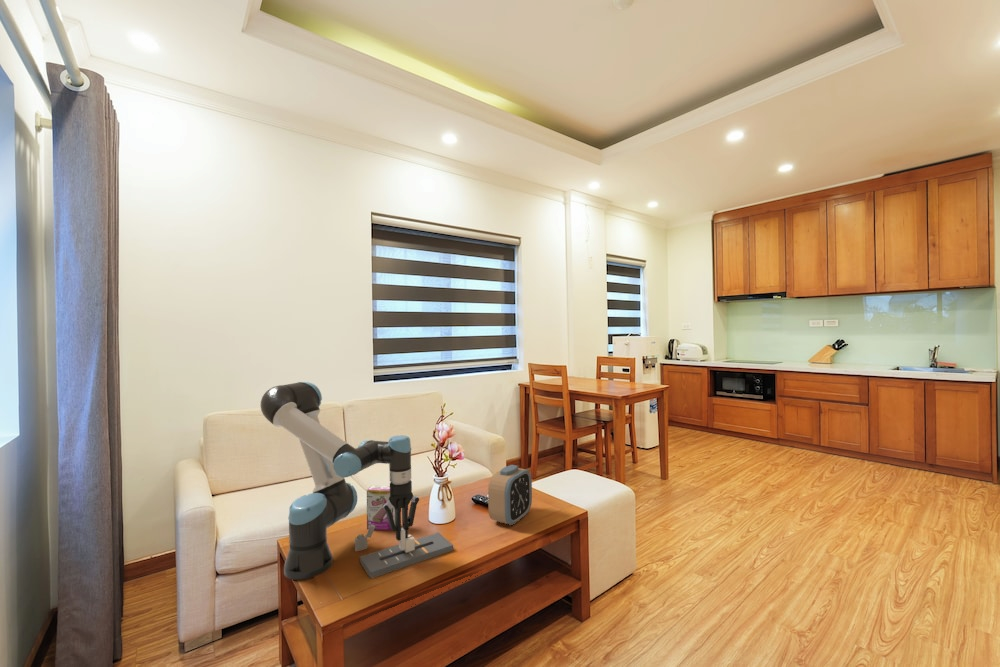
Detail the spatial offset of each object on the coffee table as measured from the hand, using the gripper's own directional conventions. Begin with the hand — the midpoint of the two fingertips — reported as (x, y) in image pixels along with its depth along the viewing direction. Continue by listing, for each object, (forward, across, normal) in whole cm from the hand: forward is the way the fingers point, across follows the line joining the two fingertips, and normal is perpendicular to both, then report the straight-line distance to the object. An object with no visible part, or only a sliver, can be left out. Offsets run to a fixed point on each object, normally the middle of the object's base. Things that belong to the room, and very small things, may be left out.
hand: (402, 548), depth 148 cm
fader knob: (+4, +2, 0) cm, 4 cm away
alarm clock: (+4, +49, +3) cm, 49 cm away
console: (+4, +2, 0) cm, 4 cm away
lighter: (+4, -9, +15) cm, 18 cm away
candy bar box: (+4, +2, +27) cm, 28 cm away
